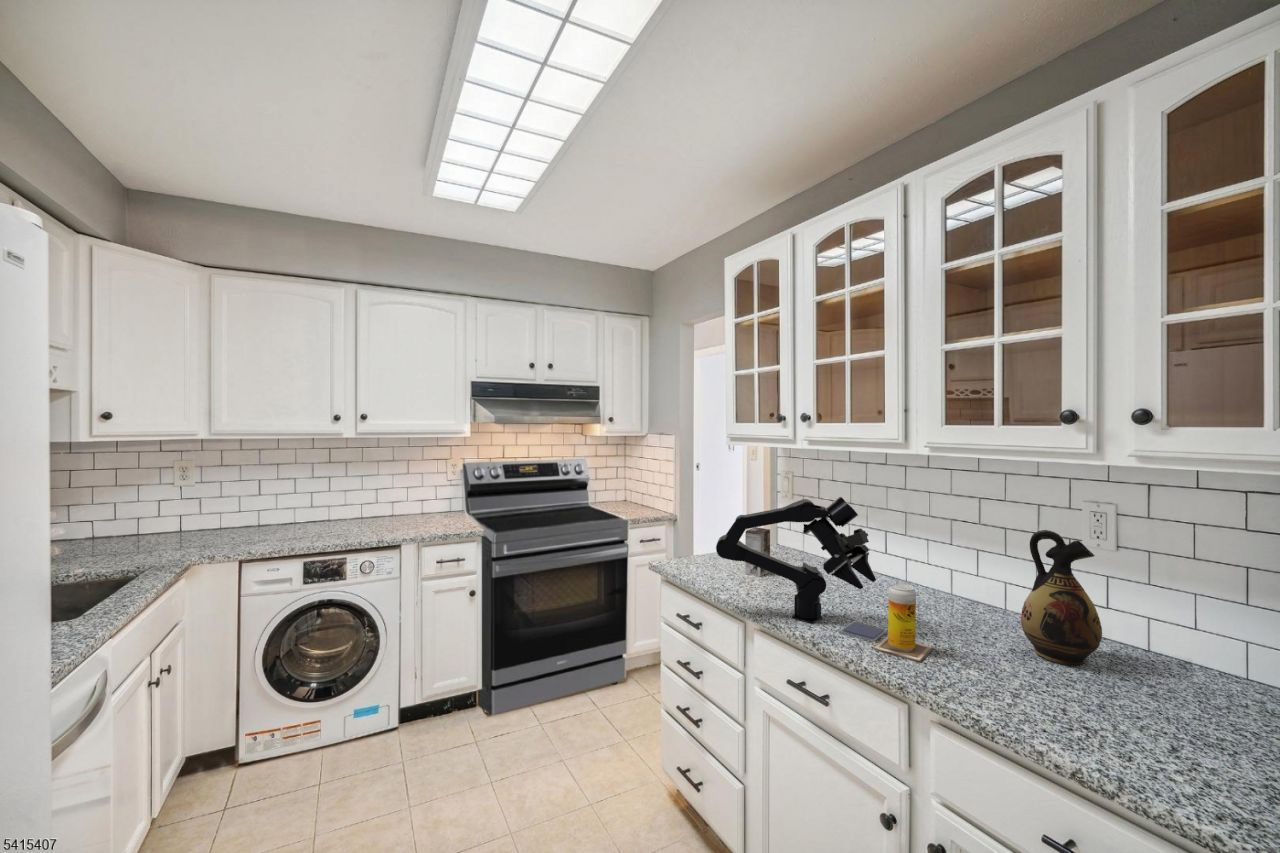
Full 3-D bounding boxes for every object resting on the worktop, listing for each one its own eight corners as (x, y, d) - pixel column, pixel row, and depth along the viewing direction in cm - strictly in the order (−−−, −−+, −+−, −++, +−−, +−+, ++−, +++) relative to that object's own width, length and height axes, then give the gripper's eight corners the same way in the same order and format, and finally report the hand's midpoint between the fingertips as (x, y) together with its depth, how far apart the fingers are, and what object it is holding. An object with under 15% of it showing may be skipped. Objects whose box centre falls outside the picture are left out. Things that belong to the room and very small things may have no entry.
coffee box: (754, 569, 208) (755, 527, 208) (770, 571, 205) (771, 529, 205) (744, 574, 201) (744, 530, 201) (760, 577, 197) (761, 532, 197)
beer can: (903, 654, 131) (904, 591, 131) (882, 645, 136) (883, 585, 136) (920, 649, 134) (921, 588, 133) (899, 641, 139) (900, 582, 139)
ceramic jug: (1104, 657, 131) (1106, 533, 131) (1097, 678, 120) (1099, 542, 120) (1019, 637, 143) (1021, 523, 143) (1006, 654, 132) (1008, 531, 132)
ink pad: (839, 633, 145) (840, 629, 145) (853, 624, 151) (853, 620, 151) (874, 642, 138) (874, 638, 138) (887, 633, 145) (887, 629, 145)
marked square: (872, 649, 134) (872, 647, 134) (887, 636, 142) (887, 634, 142) (920, 662, 127) (920, 660, 127) (933, 648, 135) (934, 646, 135)
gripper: (835, 524, 143) (878, 574, 135) (862, 515, 156) (902, 561, 149) (806, 549, 148) (846, 598, 141) (835, 539, 162) (872, 583, 154)
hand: (868, 584), depth 146 cm, fingers open, 9 cm apart
